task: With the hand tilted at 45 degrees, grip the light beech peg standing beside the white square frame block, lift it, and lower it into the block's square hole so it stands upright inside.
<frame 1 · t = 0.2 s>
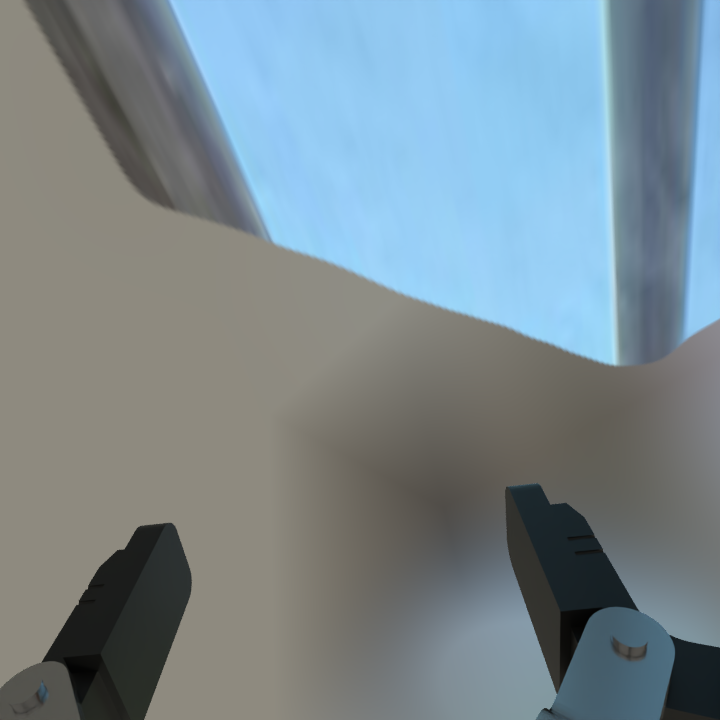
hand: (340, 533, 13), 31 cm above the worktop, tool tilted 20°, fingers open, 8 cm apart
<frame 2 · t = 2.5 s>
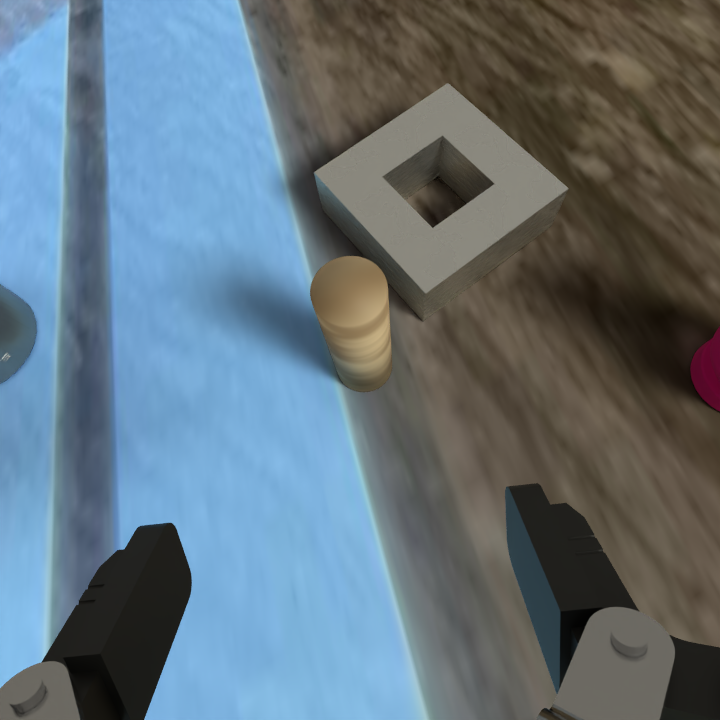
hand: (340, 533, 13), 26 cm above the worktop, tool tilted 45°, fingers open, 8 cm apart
peg: (364, 365, 42), on the worktop
white square frame block: (434, 217, 46), on the worktop
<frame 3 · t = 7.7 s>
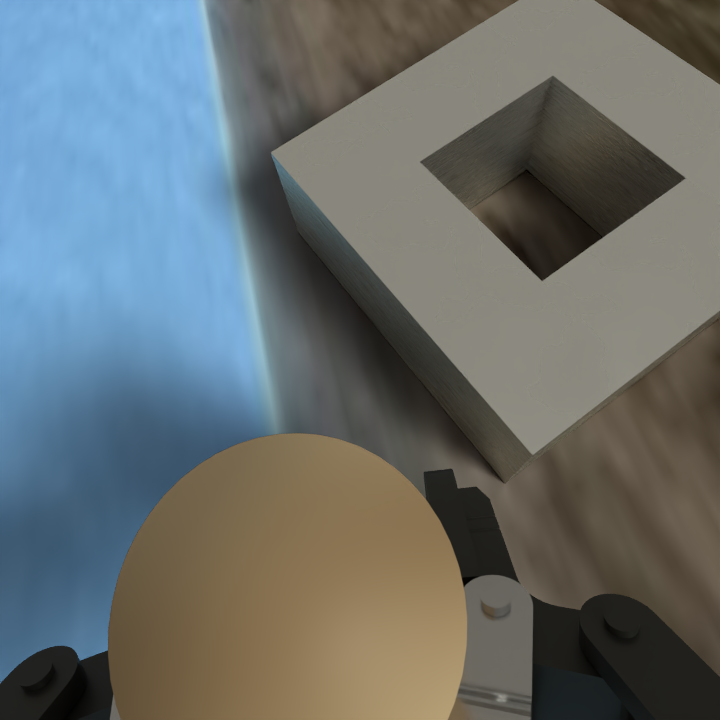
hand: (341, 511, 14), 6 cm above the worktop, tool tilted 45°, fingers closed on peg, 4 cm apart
peg: (369, 587, 18), on the worktop, touching gripper
white square frame block: (521, 251, 23), on the worktop
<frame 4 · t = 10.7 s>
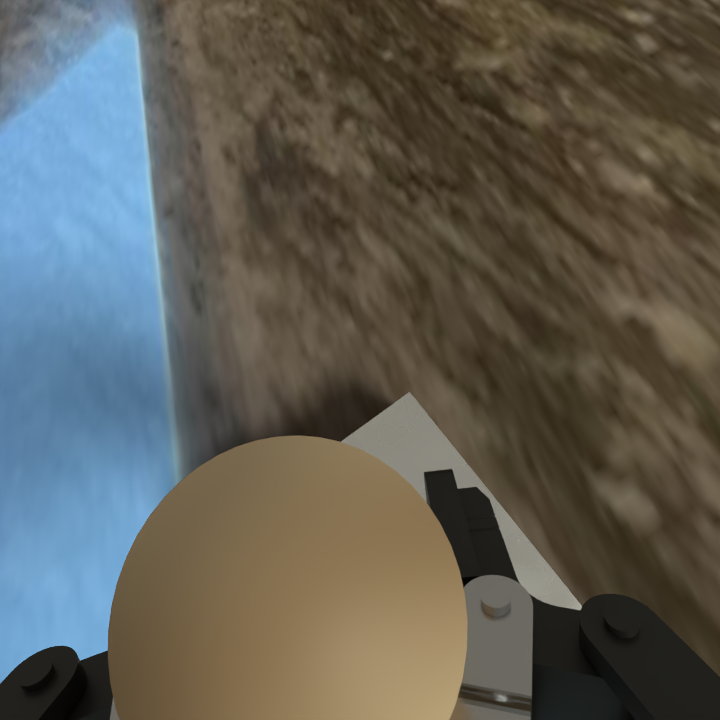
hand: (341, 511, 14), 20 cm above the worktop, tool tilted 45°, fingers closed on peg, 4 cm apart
peg: (370, 588, 18), point 13 cm above the worktop, touching gripper
white square frame block: (387, 579, 31), on the worktop
when the fingers open (7 cm above the worktop, at t = 13.8 s): peg drops 1 cm, resting in white square frame block.
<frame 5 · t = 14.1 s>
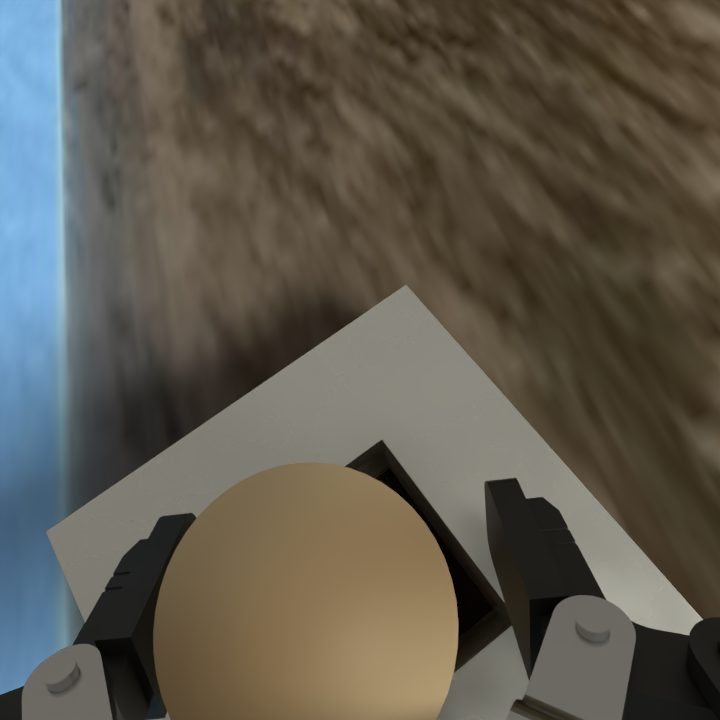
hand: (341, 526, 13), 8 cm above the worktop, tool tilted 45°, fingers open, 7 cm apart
peg: (372, 590, 20), resting in white square frame block
white square frame block: (372, 586, 20), on the worktop
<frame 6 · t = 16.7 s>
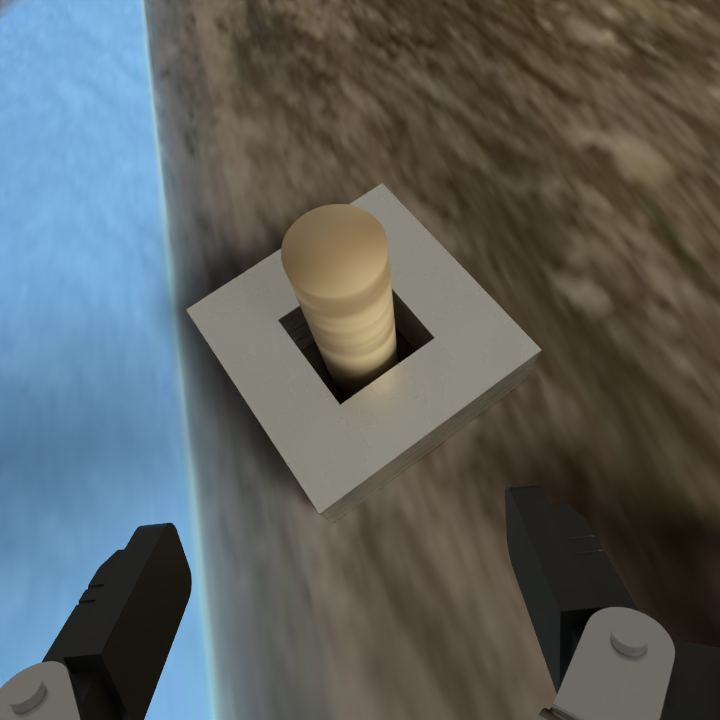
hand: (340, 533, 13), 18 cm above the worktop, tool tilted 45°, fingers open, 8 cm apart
peg: (363, 364, 34), resting in white square frame block
white square frame block: (363, 362, 34), on the worktop
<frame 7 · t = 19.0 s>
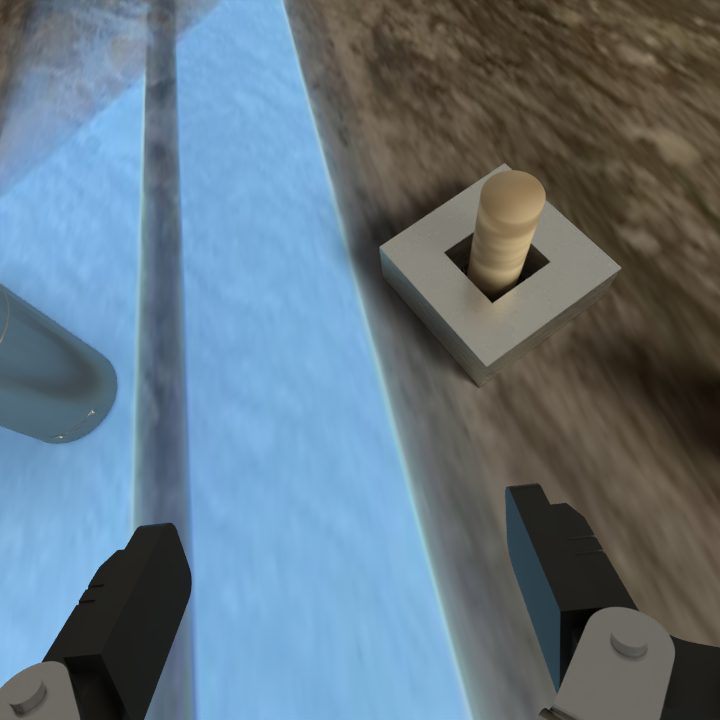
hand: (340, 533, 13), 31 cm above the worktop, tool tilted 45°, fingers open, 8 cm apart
peg: (489, 288, 49), resting in white square frame block
white square frame block: (488, 286, 49), on the worktop
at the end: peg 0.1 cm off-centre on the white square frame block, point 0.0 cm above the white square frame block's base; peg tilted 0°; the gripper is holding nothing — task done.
